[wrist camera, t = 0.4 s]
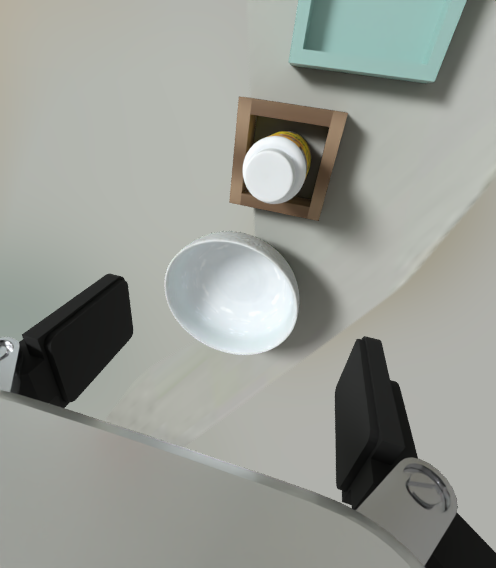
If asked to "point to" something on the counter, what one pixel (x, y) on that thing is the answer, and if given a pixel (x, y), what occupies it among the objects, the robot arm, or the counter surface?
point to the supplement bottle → (277, 167)
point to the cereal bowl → (233, 293)
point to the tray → (375, 36)
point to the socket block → (291, 112)
